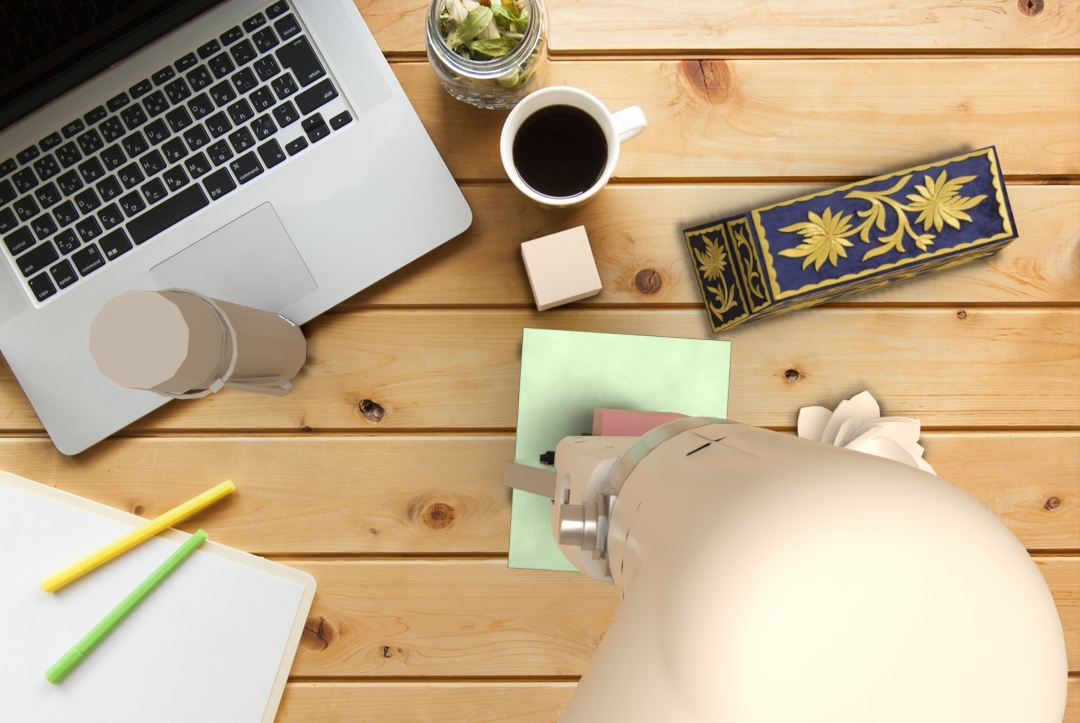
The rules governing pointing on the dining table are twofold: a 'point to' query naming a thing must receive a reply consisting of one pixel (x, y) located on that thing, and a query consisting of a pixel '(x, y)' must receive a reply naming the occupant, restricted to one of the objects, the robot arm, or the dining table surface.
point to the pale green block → (600, 405)
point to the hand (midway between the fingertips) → (634, 463)
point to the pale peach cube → (561, 268)
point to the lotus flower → (865, 430)
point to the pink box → (629, 421)
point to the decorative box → (852, 239)
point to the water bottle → (194, 345)
